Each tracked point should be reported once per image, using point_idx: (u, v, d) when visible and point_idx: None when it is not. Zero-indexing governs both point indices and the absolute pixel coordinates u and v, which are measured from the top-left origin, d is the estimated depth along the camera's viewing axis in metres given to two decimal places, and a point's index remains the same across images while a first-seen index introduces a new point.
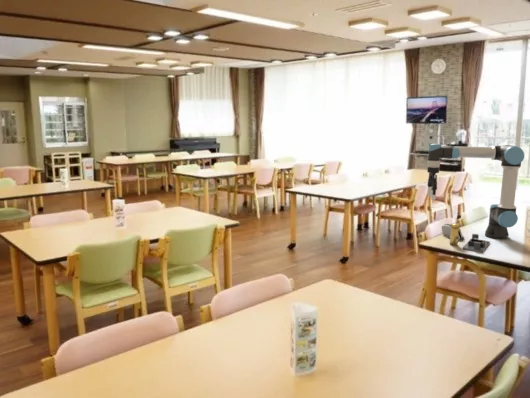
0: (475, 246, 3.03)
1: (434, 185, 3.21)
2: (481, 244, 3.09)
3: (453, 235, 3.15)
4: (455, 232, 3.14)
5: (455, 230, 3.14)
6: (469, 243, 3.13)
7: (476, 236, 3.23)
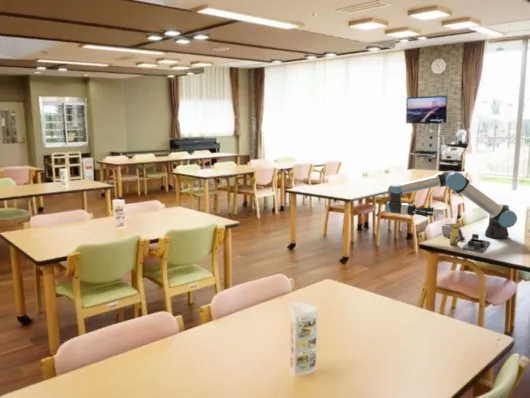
0: (475, 246, 3.03)
1: (421, 214, 3.18)
2: (481, 244, 3.09)
3: (453, 235, 3.15)
4: (455, 232, 3.14)
5: (455, 230, 3.14)
6: (469, 243, 3.13)
7: (476, 236, 3.23)
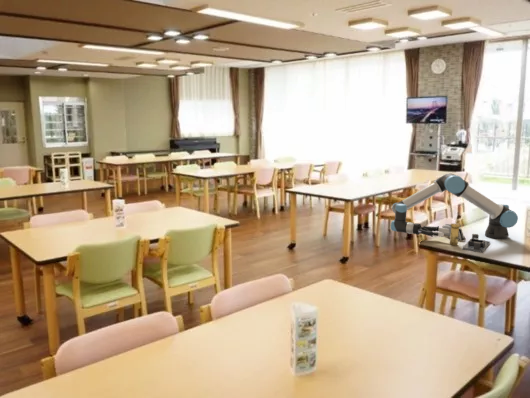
0: (475, 246, 3.03)
1: (427, 234, 3.17)
2: (481, 244, 3.09)
3: (453, 235, 3.15)
4: (455, 232, 3.14)
5: (455, 230, 3.14)
6: (469, 243, 3.13)
7: (476, 236, 3.23)
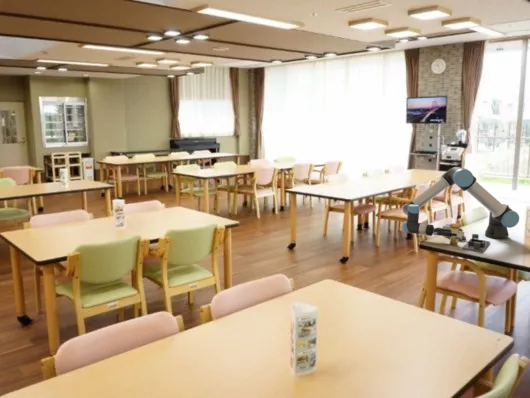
0: (475, 246, 3.03)
1: (445, 234, 3.14)
2: (481, 244, 3.09)
3: None
4: (455, 232, 3.14)
5: (455, 230, 3.14)
6: (469, 243, 3.13)
7: (476, 236, 3.23)
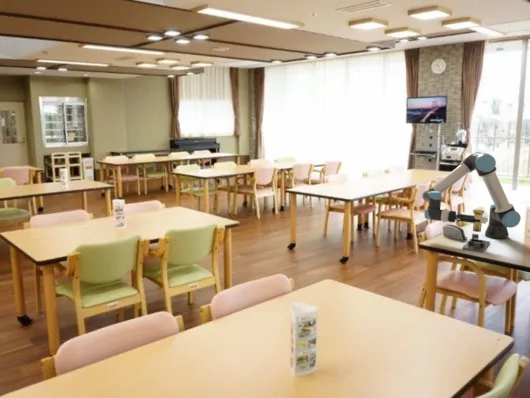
0: (475, 246, 3.03)
1: (468, 221, 3.10)
2: (481, 244, 3.09)
3: None
4: (479, 218, 3.10)
5: (479, 215, 3.09)
6: (469, 243, 3.13)
7: (476, 236, 3.23)
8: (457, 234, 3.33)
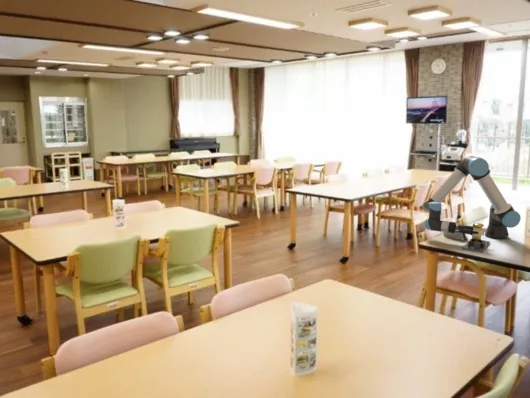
0: (475, 246, 3.03)
1: (466, 232, 3.10)
2: (481, 244, 3.09)
3: (476, 235, 3.12)
4: None
5: (478, 229, 3.11)
6: (469, 243, 3.13)
7: None
8: (458, 234, 3.32)
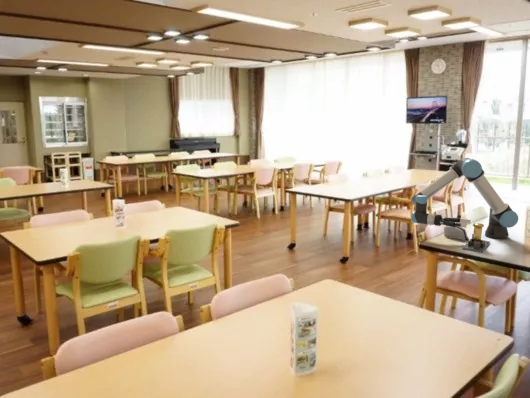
0: (475, 246, 3.03)
1: (449, 224, 3.14)
2: (481, 244, 3.09)
3: (476, 235, 3.12)
4: (478, 232, 3.11)
5: (478, 229, 3.11)
6: (469, 243, 3.13)
7: None
8: (459, 234, 3.32)
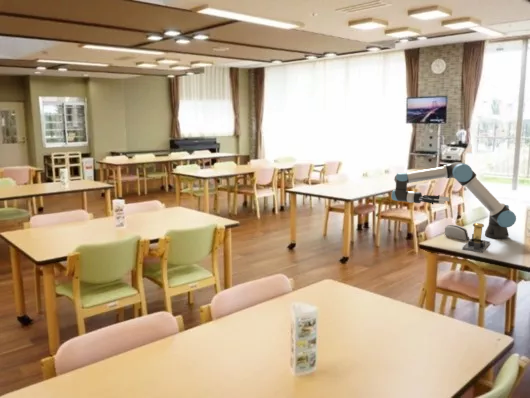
0: (475, 246, 3.03)
1: (428, 201, 3.18)
2: (481, 244, 3.09)
3: (476, 235, 3.12)
4: (478, 232, 3.11)
5: (478, 229, 3.11)
6: (469, 243, 3.13)
7: None
8: (460, 235, 3.31)
